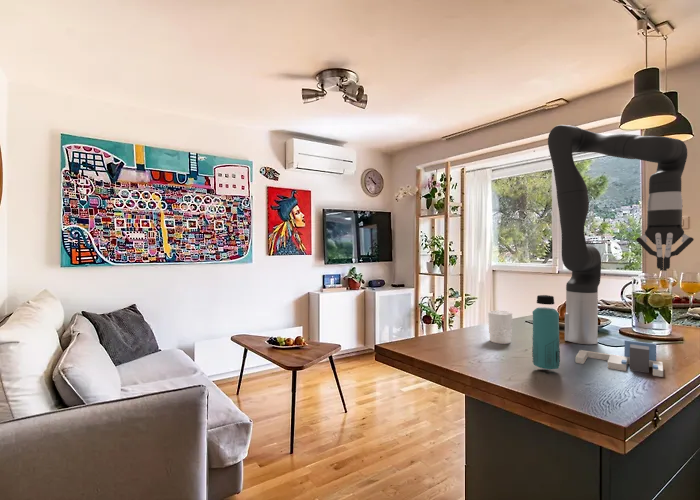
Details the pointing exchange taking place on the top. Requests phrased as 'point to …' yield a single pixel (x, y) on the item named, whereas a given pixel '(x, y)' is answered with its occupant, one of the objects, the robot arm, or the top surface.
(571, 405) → the top surface
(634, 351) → the plug
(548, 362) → the beverage bottle
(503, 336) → the white cup
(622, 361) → the white prong rack
